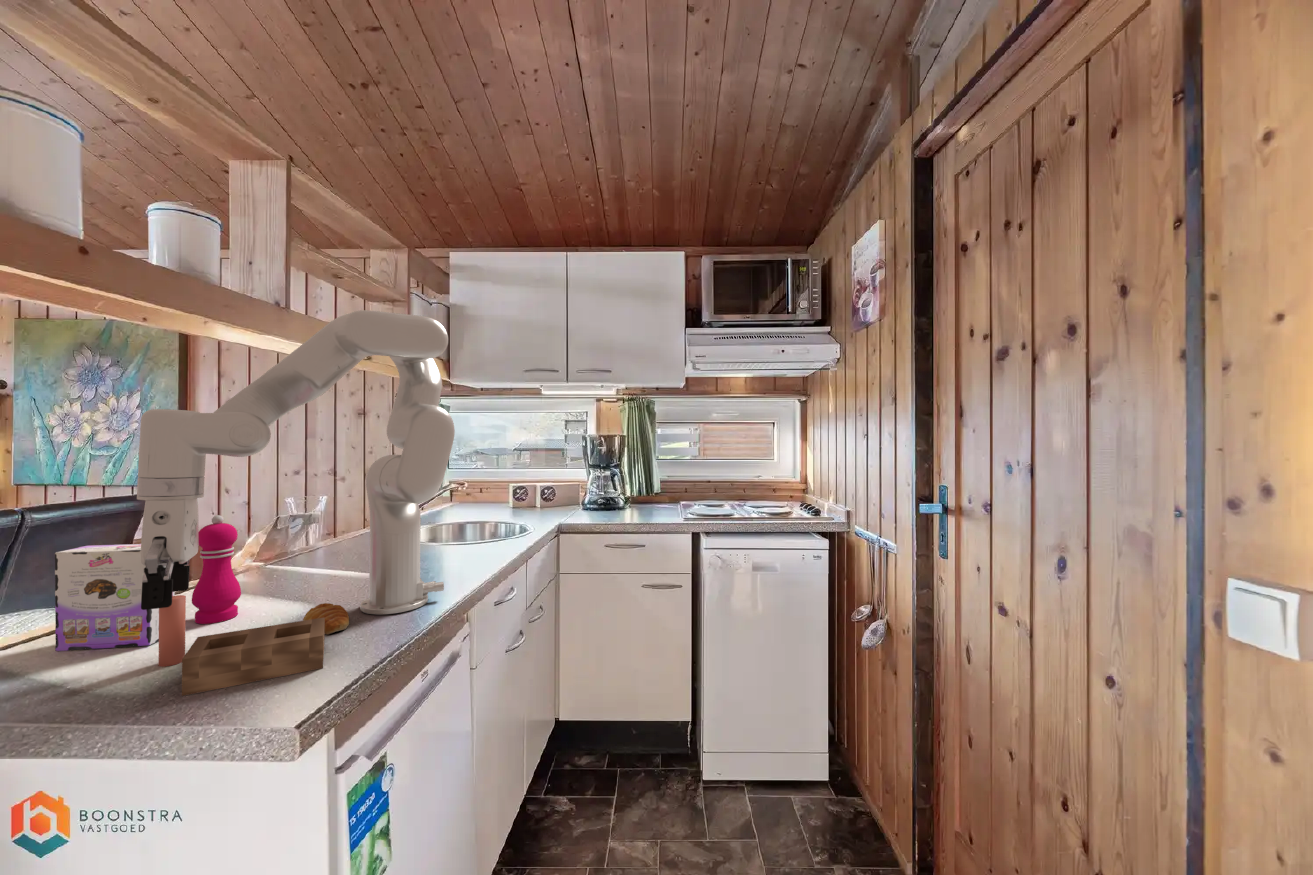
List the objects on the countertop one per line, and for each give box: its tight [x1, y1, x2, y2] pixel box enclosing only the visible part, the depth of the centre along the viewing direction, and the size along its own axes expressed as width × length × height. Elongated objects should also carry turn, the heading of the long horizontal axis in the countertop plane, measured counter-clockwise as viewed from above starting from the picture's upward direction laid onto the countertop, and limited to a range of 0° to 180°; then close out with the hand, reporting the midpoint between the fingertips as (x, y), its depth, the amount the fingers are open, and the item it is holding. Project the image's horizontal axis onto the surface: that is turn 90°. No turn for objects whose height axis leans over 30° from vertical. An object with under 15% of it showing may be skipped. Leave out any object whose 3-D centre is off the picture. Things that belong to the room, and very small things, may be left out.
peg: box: [157, 594, 187, 668], centre depth 78 cm, size 3×3×10 cm
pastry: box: [302, 602, 350, 635], centre depth 93 cm, size 9×7×4 cm
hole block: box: [181, 617, 326, 697], centre depth 76 cm, size 16×9×5 cm, turn 122°
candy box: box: [54, 543, 176, 652], centre depth 86 cm, size 14×6×16 cm, turn 99°
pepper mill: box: [191, 514, 242, 625], centre depth 97 cm, size 7×7×20 cm
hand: (166, 599), depth 78 cm, fingers open, 9 cm apart
